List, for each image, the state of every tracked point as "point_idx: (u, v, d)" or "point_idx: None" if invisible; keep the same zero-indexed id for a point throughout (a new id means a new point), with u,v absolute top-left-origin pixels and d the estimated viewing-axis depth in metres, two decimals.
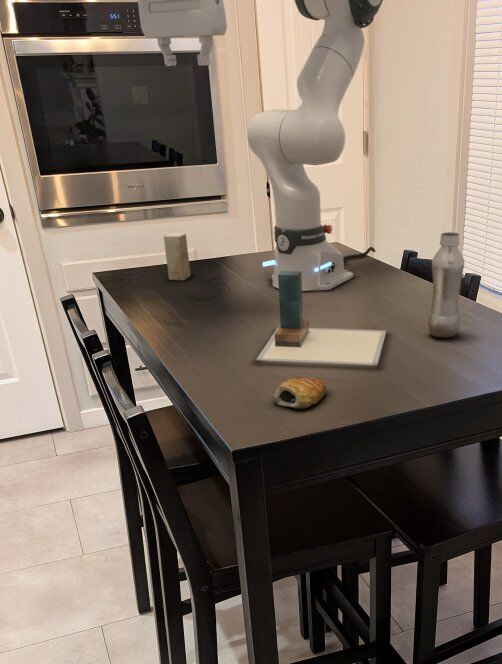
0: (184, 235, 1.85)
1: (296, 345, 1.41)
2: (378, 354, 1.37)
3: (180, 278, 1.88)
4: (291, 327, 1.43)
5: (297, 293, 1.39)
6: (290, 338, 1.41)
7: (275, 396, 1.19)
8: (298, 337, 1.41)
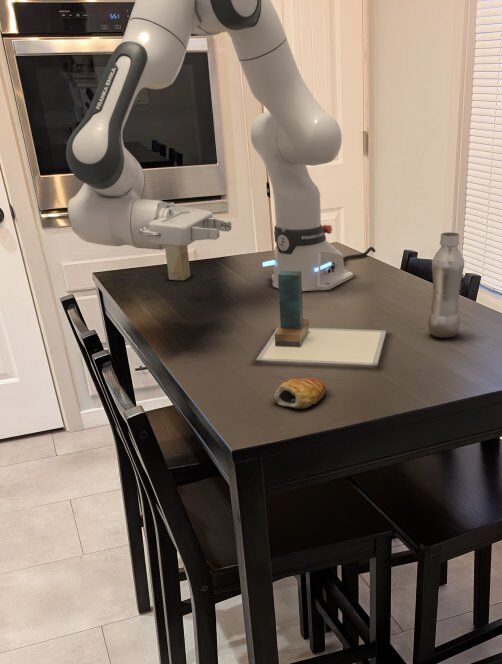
0: None
1: (296, 345, 1.41)
2: (378, 354, 1.37)
3: (180, 278, 1.88)
4: (291, 327, 1.43)
5: (297, 293, 1.39)
6: (290, 338, 1.41)
7: (275, 396, 1.19)
8: (298, 337, 1.41)
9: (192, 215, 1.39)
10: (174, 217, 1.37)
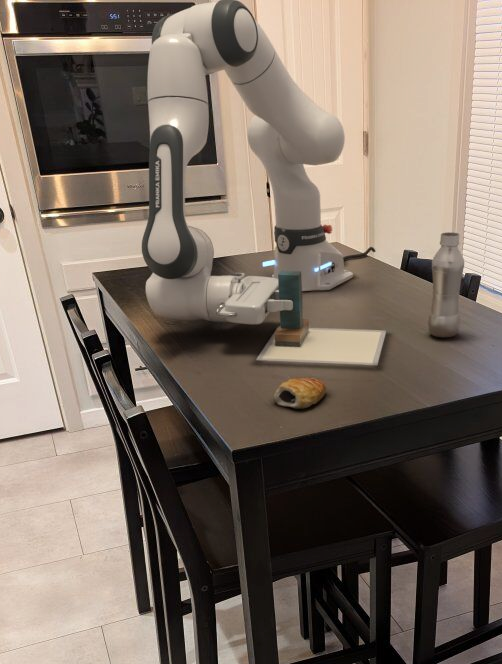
0: None
1: (296, 346, 1.41)
2: (378, 354, 1.37)
3: None
4: (291, 327, 1.43)
5: (297, 293, 1.39)
6: (290, 338, 1.41)
7: (275, 396, 1.19)
8: (298, 337, 1.41)
9: (263, 287, 1.44)
10: (246, 291, 1.43)
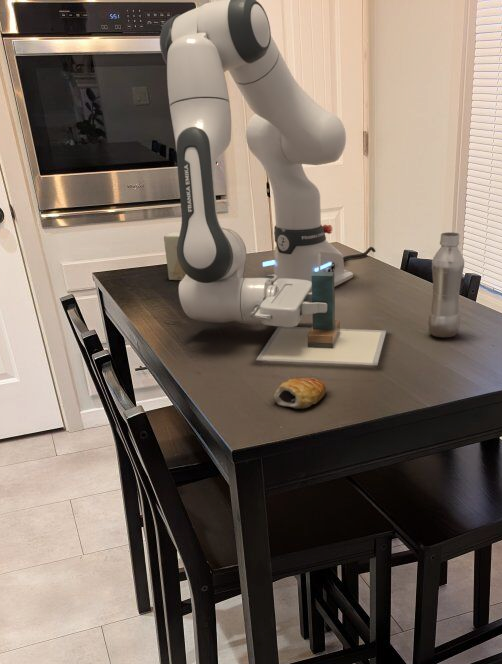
0: None
1: (329, 347, 1.41)
2: (378, 354, 1.37)
3: (180, 278, 1.88)
4: (323, 328, 1.42)
5: (330, 293, 1.39)
6: (323, 339, 1.40)
7: (275, 396, 1.19)
8: (331, 338, 1.40)
9: (296, 289, 1.43)
10: (280, 293, 1.42)
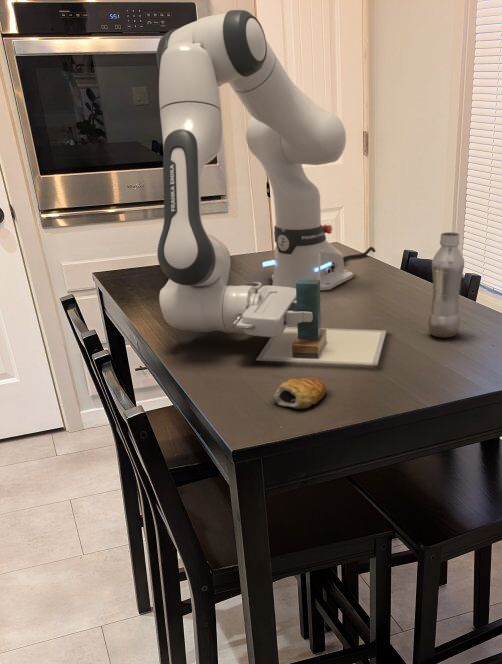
0: None
1: (315, 357, 1.36)
2: (378, 354, 1.37)
3: None
4: (309, 338, 1.38)
5: (315, 302, 1.34)
6: (308, 349, 1.35)
7: (275, 396, 1.19)
8: (316, 348, 1.35)
9: (281, 298, 1.39)
10: (264, 302, 1.37)
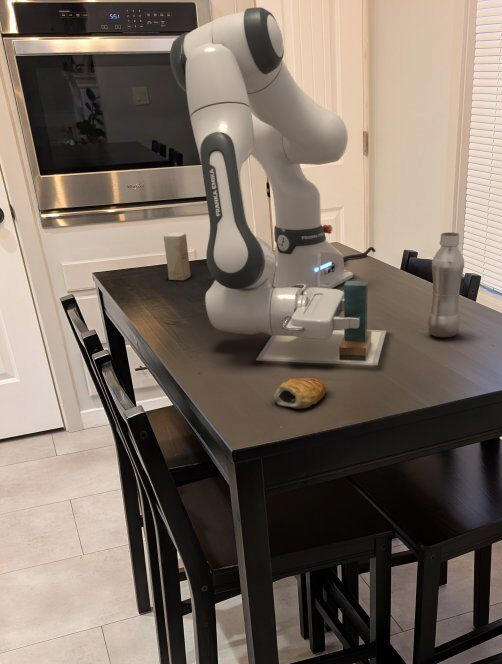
0: (184, 235, 1.85)
1: (362, 359, 1.35)
2: (378, 354, 1.37)
3: (180, 278, 1.88)
4: (355, 340, 1.36)
5: (363, 304, 1.33)
6: (355, 351, 1.34)
7: (275, 396, 1.19)
8: (364, 350, 1.34)
9: (327, 299, 1.37)
10: (311, 304, 1.36)
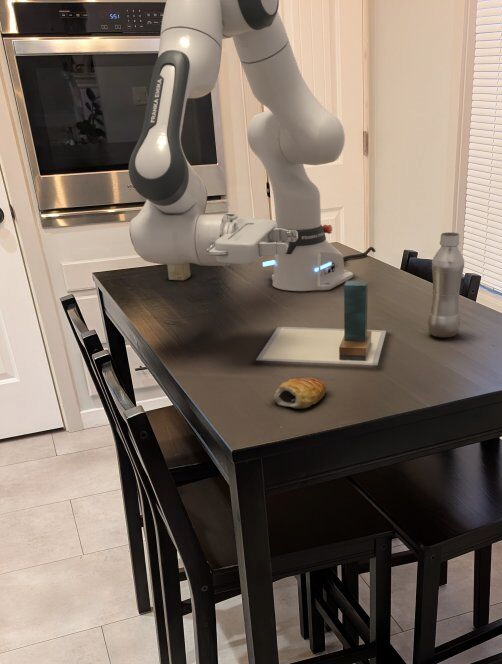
0: None
1: (362, 359, 1.35)
2: (378, 354, 1.37)
3: (180, 278, 1.88)
4: (355, 340, 1.36)
5: (363, 304, 1.33)
6: (355, 351, 1.34)
7: (275, 396, 1.19)
8: (364, 350, 1.34)
9: (257, 227, 1.32)
10: (239, 231, 1.31)
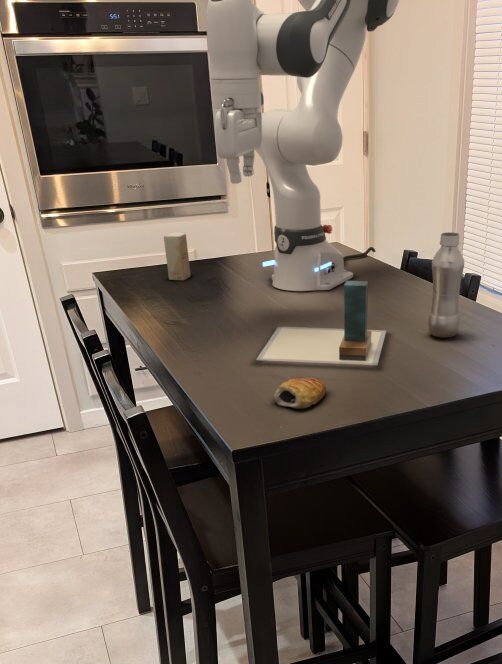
0: (184, 235, 1.85)
1: (362, 359, 1.35)
2: (378, 354, 1.37)
3: (180, 278, 1.88)
4: (355, 340, 1.36)
5: (363, 304, 1.33)
6: (355, 351, 1.34)
7: (275, 396, 1.19)
8: (364, 350, 1.34)
9: (252, 137, 1.38)
10: (247, 121, 1.35)
